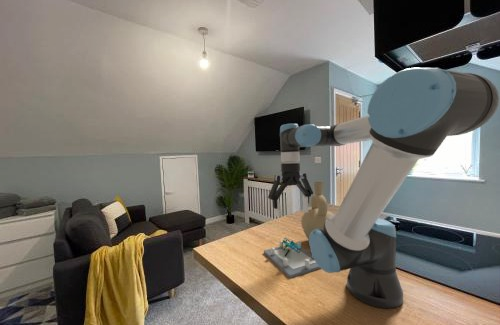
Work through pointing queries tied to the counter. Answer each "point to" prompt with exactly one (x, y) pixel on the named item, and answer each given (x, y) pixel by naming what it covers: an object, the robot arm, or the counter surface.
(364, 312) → the counter surface
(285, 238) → the stick construction toy
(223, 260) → the counter surface
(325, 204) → the vase
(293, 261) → the pin tray
